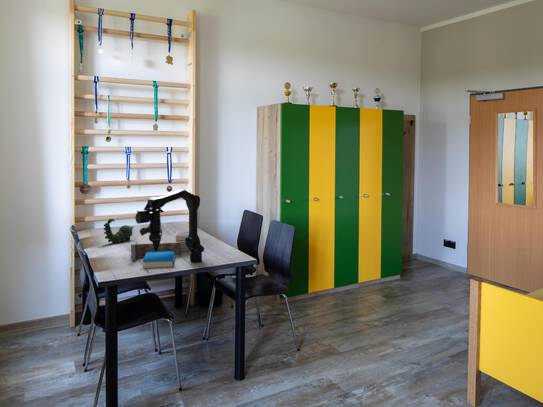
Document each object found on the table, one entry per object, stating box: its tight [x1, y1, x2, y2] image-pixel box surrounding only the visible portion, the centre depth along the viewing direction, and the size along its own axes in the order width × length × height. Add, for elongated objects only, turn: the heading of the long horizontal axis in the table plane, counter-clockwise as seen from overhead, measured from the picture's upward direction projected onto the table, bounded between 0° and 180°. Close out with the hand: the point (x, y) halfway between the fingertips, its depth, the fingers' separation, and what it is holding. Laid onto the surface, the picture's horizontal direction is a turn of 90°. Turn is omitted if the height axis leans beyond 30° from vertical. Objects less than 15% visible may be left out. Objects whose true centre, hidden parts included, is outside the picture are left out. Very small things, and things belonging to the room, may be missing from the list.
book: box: [142, 251, 176, 269], centre depth 271 cm, size 17×4×25 cm
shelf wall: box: [130, 241, 182, 258], centre depth 285 cm, size 30×2×8 cm, turn 101°
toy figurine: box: [103, 218, 135, 244], centre depth 327 cm, size 9×19×25 cm
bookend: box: [131, 240, 138, 262], centre depth 276 cm, size 2×10×10 cm, turn 11°
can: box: [174, 231, 191, 254], centre depth 297 cm, size 11×11×12 cm
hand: (156, 249), depth 252 cm, fingers open, 9 cm apart
